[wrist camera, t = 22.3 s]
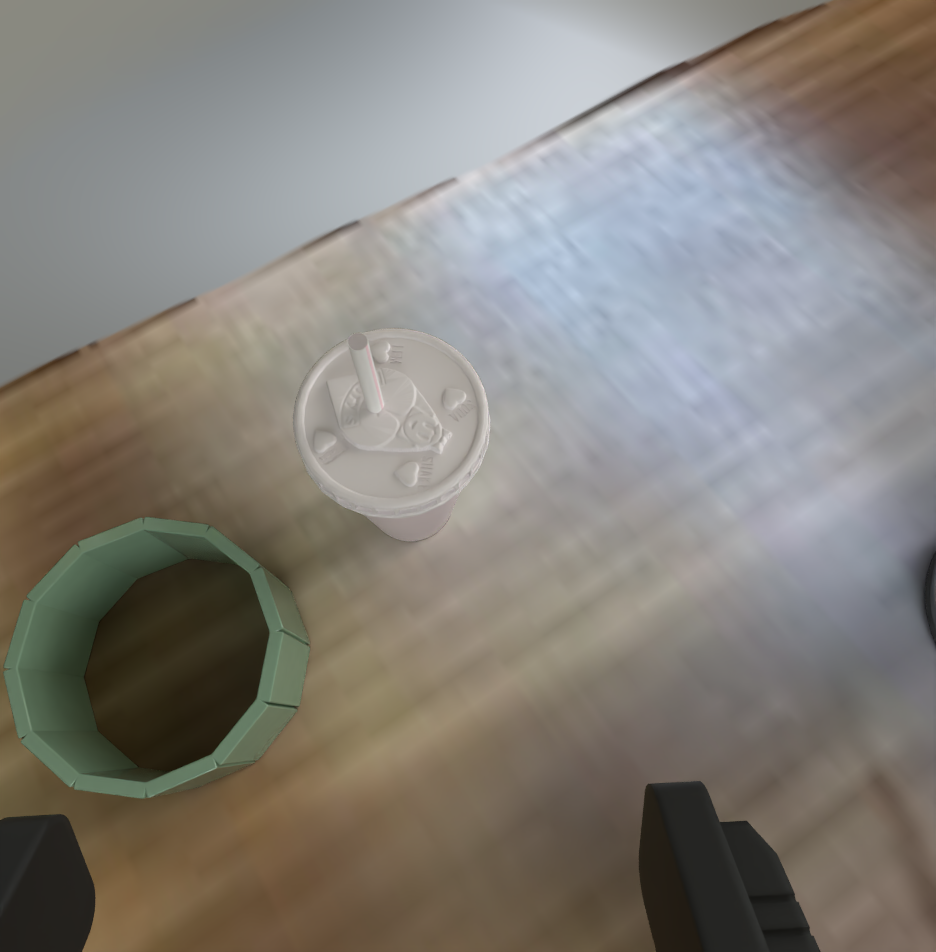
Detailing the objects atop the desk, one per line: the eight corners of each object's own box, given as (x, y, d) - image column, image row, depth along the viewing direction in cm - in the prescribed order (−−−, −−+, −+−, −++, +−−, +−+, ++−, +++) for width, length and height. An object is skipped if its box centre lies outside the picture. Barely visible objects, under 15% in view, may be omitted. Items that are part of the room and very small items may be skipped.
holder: (265, 516, 34) (232, 481, 29) (339, 726, 31) (316, 724, 26) (51, 601, 32) (-20, 578, 28) (109, 826, 30) (41, 844, 25)
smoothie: (385, 408, 35) (335, 213, 22) (509, 472, 34) (538, 307, 21) (310, 529, 33) (207, 395, 20) (440, 599, 32) (421, 507, 19)
